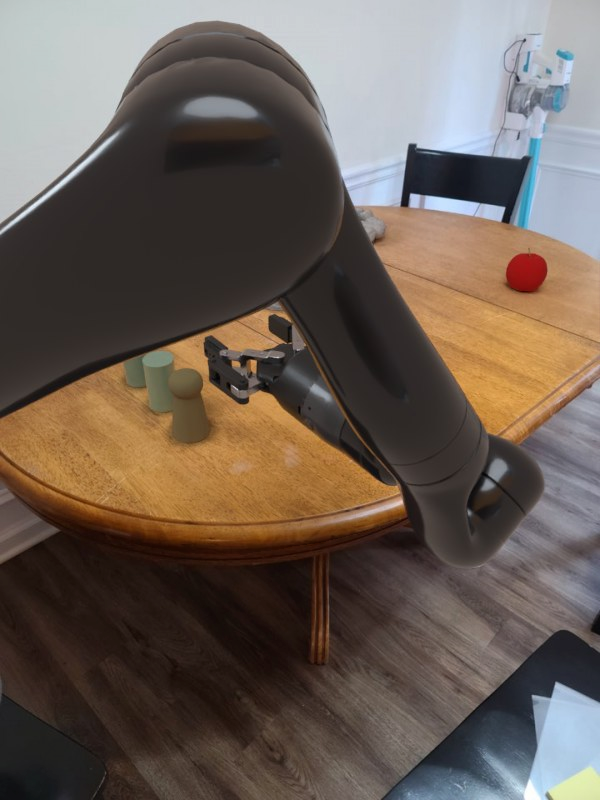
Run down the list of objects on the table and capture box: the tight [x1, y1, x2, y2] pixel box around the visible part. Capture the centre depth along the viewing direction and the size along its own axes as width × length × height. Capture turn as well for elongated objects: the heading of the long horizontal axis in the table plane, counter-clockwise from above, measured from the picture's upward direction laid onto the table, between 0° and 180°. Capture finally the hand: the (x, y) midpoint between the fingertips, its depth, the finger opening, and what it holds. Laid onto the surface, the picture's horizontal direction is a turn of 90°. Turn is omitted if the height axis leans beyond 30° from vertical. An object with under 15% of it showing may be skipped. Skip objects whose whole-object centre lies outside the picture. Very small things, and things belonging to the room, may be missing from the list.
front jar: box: [142, 350, 177, 413], centre depth 93 cm, size 5×5×9 cm
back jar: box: [122, 354, 146, 389], centre depth 98 cm, size 5×5×12 cm
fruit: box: [505, 247, 549, 293], centre depth 135 cm, size 9×9×10 cm
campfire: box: [355, 206, 387, 243], centre depth 164 cm, size 22×21×6 cm
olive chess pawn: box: [168, 367, 211, 444], centre depth 87 cm, size 6×6×11 cm
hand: (240, 332), depth 64 cm, fingers open, 8 cm apart
